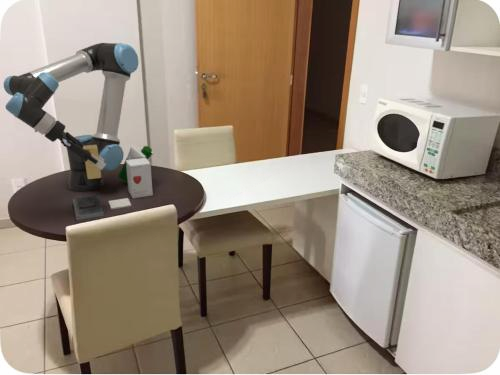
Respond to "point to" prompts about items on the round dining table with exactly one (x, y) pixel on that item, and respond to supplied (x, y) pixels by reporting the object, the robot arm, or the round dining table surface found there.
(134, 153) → the milk carton
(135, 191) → the supplement box
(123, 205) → the mat
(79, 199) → the grey metal slotted plate
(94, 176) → the gold metal column
